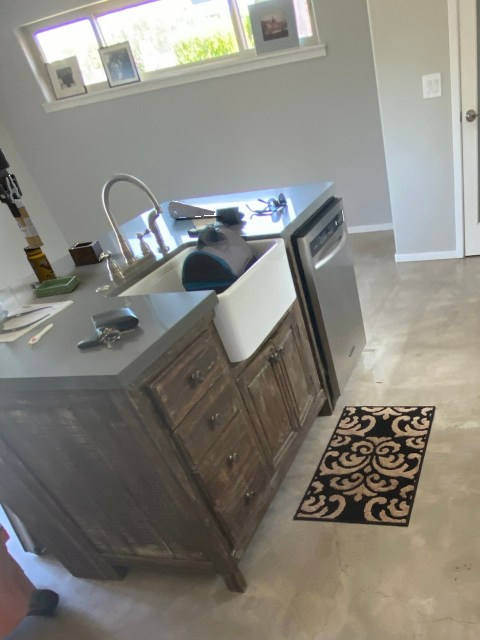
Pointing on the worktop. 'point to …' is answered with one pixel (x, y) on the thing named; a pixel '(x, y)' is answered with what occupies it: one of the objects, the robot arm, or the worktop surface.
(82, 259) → the brown wooden box
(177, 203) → the grey tapered wedge
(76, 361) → the worktop surface
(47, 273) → the condiment
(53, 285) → the tray
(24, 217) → the sprinkles bottle
